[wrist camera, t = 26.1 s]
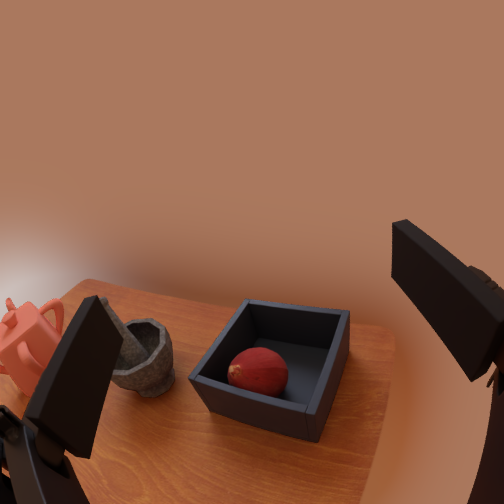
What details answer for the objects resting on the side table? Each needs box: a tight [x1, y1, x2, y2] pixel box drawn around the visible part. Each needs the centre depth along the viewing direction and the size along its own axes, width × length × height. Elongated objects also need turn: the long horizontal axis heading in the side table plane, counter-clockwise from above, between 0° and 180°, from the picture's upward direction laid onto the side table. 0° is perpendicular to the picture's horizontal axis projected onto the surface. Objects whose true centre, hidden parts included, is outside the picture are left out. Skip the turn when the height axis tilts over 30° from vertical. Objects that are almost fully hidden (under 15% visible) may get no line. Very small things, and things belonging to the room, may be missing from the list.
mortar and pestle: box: [99, 297, 175, 397], centre depth 31 cm, size 11×9×12 cm
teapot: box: [0, 298, 64, 398], centre depth 33 cm, size 17×16×13 cm
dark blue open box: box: [188, 299, 350, 443], centre depth 28 cm, size 13×13×7 cm
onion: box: [227, 347, 288, 398], centre depth 26 cm, size 6×6×8 cm
